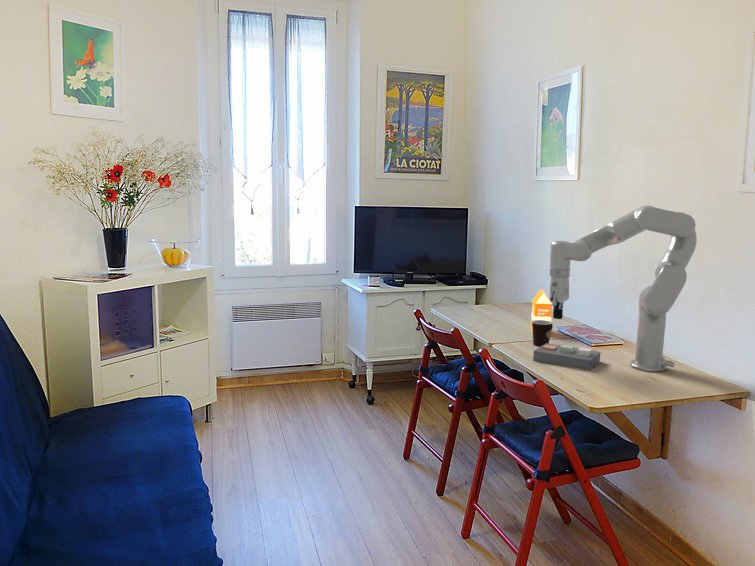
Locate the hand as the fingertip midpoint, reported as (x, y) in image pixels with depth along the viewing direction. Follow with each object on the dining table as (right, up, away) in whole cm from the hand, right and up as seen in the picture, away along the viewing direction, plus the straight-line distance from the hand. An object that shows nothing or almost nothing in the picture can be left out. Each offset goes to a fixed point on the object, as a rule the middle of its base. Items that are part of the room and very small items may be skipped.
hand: (557, 318), depth 242 cm
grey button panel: (+3, -17, 0) cm, 17 cm away
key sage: (+4, -14, 0) cm, 15 cm away
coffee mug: (+1, -13, +25) cm, 28 cm away
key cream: (+9, -15, -4) cm, 18 cm away
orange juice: (+5, -9, +46) cm, 47 cm away
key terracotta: (-2, -15, +4) cm, 15 cm away
